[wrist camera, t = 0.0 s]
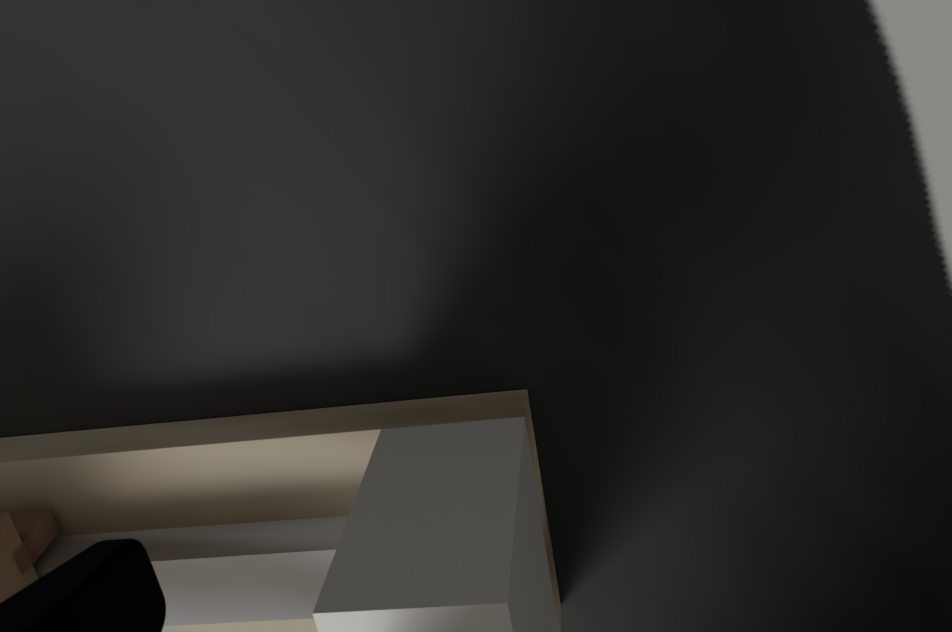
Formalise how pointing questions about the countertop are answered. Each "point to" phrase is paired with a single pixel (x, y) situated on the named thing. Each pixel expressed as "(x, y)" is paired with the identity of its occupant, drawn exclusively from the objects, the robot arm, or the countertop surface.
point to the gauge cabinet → (443, 536)
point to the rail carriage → (23, 547)
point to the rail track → (228, 500)
